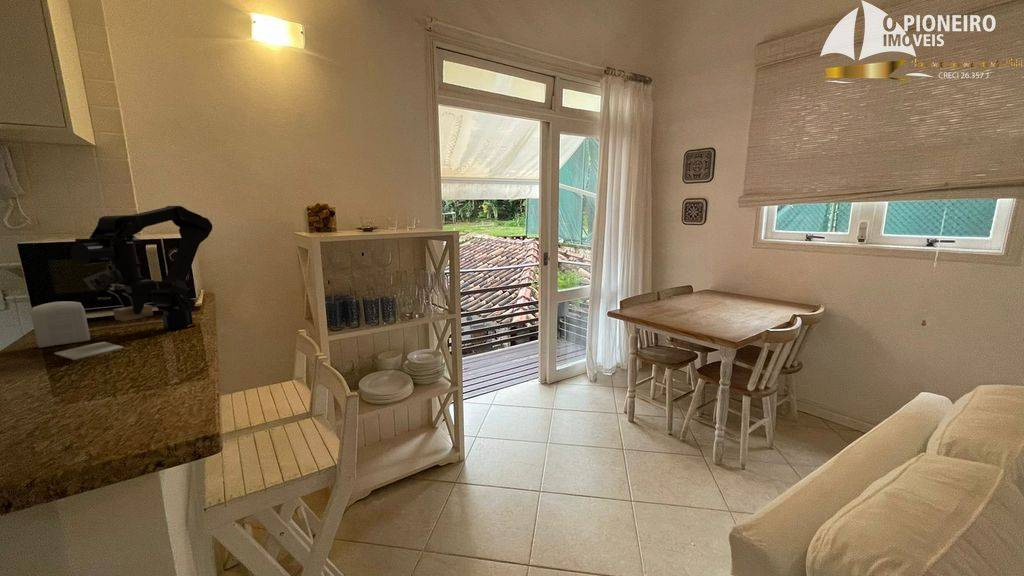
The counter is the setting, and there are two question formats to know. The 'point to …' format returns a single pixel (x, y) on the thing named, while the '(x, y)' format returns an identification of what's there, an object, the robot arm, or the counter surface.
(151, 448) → the counter surface
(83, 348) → the mat
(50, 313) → the photo printer
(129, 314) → the ridged brown block
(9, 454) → the counter surface
